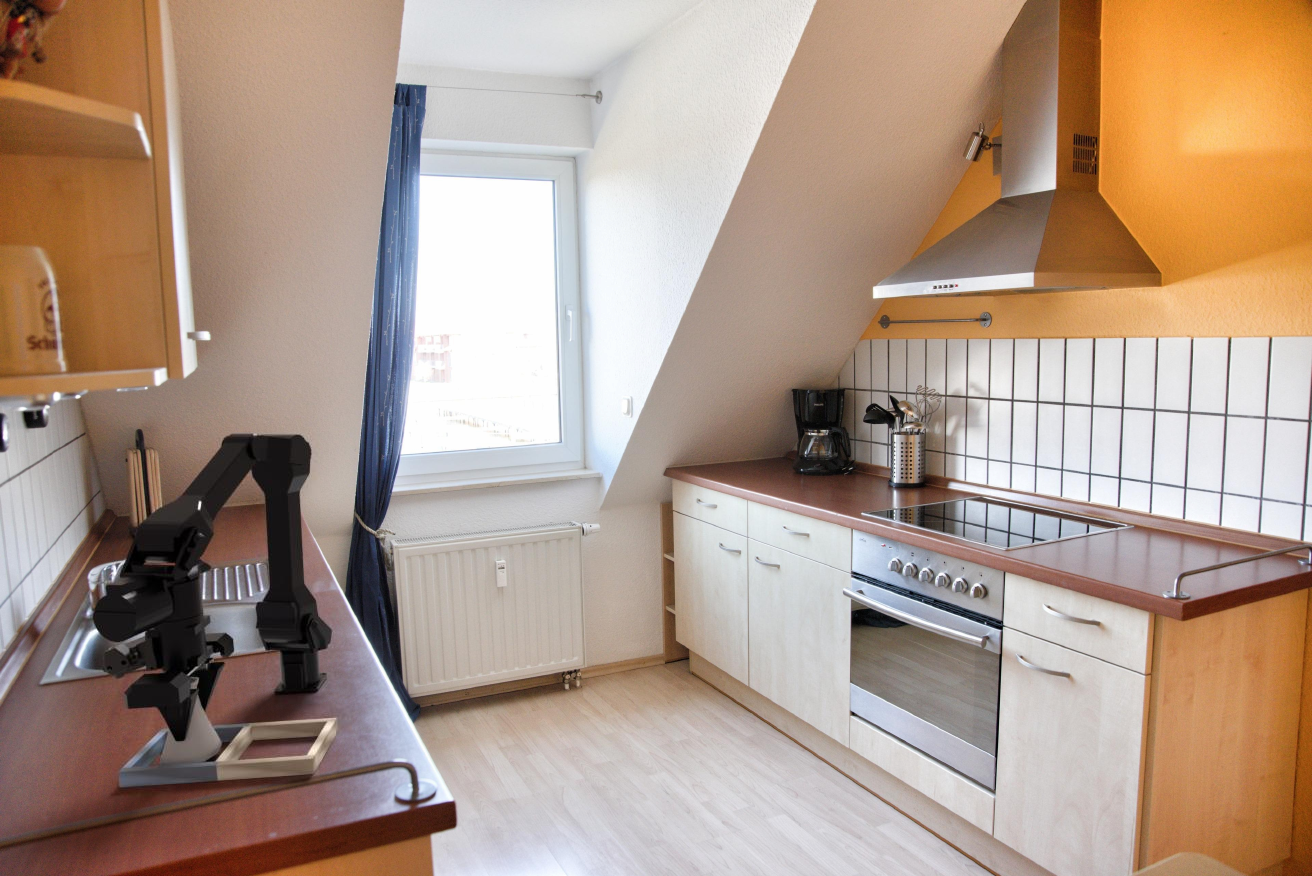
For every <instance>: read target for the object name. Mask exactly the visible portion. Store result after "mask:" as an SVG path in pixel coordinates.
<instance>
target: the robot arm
mask: <svg viewBox="0 0 1312 876" xmlns="http://www.w3.org/2000/svg"><path fill="white" fill-rule="evenodd" d="M311 459H312V446H311V445H310V442H309V441H307V440H306V438H305V437H304V436H303V435H301V434H297V433H295V434H294V433H293V434H292V433H291V434H287V433H286V434H284V433H283V434H282V433H281V434H280V433H279V434H277V433H275V434H259V433H256V432H255V433H253V432H252V433H247V432H246V433H245V432H244V433H240V432H239V433H237V432H236V433H230V434H228V435H225V436H224V437H223V439H222V442H221V445H220V447H219V449H218V450H217V451H216V452H215V453H214V455H213V456H212V458H210V459H209V461H208V462H207V464H206V465H205V466H204V467H203V468H202V470H201V471H200V472H199V473H198V474H197V476H196V477H195V478H194V479H193V480H192V482H191V483H190V485H188V487H187V488H186V489H185V490H184V492H183V493H182V494H181V495H180V496H179V497H178V498H177V499H175V500H174V501H171V502H169V503H167V504H165V505H163V506H161V507H158V508H157V509H155V510H154V511H153V512H152V513H151V514H150V515H149V516H147V517H146V518H145V519H144V520H143V521H142V522H141V523H140V524H139V525H138V527H137V529H136V531H135V534H134V537H133V538H134V539H133V541H132V543H131V546H130V548H129V550H128V553H127V555H126V558H125V561H124V562H123V566H122V568H121V569H120V570H121V571H120V573H119V578H120V579H124V580H120V581H113V582H110V583H107V584H106V585H105V592H106V593H105V594H106V595H104V596H103V597H100V599H99V600H98V601H97V602H96V604H95V607H94V610H93V612H92V620H93V624H94V627H95V629H96V630H97V632H98V633H99V634H100V635H101V636H102V637H103V638H104V639H106V640H108V641H109V642H113V643H119V644H117V645H116V646H115V647H109V648H107V650H105V651H104V652H103V658H102V663H103V666H102V667H101V668H102V671H103V672H104V673H107V674H108V675H110V676H113V677H114V679H115V680H119V679H121V678H124V677H125V675H127V674H129V673H132V672H135V671H136V670H139V669H142V668H144V667H145V670H146V671H147V672H149V671H150V673H144V674H143V675H141V676H140V677H139V678H138V679H137V680H135V681H133V683H131V684H130V685H129V687H128V688H127V689H126V690H125V691H124V692H123V695H124V697H123V698H124V707H125V708H126V709H127V710H133V709H147V708H149V709H150V708H151V709H152V708H156V709H157V710H158V711H159V713H160V714H161V716H162V719H164V722H165V723H166V725H167V727H168V729H170V731H171V733H172V735H173V737H174V739H175V741H177V742H179V741H184V740H185V739H186V736H187V733H188V730H189V726H190V722H191V718H192V714H193V710H194V706H195V703H196V699H197V695H198V696H199V700H200V703H201V706H202V708H203V710H204V712H205V713H206V712H207V710H208V706H209V704H210V701H211V700H212V696H213V694H214V691H215V688H216V685H217V684H218V681H219V678H220V676H221V673H222V671H223V669H224V667H225V665H226V662H225V661H215V660H214V659H215V658H214V657H211V656H212V655H213V654H218V653H220V654H219V655H220V657H221V658H222V659H228V658H229V657H230V656H231V655H232V654H233V653H234V652H235V644H234V638H233V637H232V636H231V635H229V634H228V633H227V632H212V633H206V627H207V626H208V625H209V624H210V623H212V622H211V615H210V614H209V615H208V614H207V615H205V614H204V613H205V612H204V605H203V604H204V603H203V594H202V582H201V574H204V573H207V572H209V571H211V569H212V566H211V564H209V563H208V562H205V561H203V560H202V559H201V558H202V557H203V555H204V554H205V551H206V550H207V548H208V547H209V544H210V542H211V540H212V539H213V537H214V535H215V530H214V520H215V518H216V517H217V515H218V514H219V512H220V511H221V510H222V509H223V508H224V506H225V505H226V503H227V502H228V501H229V499H230V498H231V497H232V495H233V494H234V492H235V491H236V490H237V489H238V487H239V486H240V485H241V484H242V482H243V480H244V479H245V478H246V477H247V475H248V474H249V473H250V472H251V473H250V474H251V477H252V478H253V480H254V481H255V483H256V485H257V486H258V487H259V488H260V490H261V492H263V495H264V497H263V498H264V509H265V510H264V512H265V527H266V528H265V529H266V546H267V547H266V549H267V567H268V569H267V570H268V586H269V587H268V589H267V592H266V593H265V595H264V597H263V598H262V600H261V601H257V602H256V604H255V613H256V624H255V629H257V630H258V635H259V637H260V639H261V641H262V642H261V643H262V644H263V646H264V647H263V648H264V649H265V651H266V652H267V651H268V652H270V651H274V652H275V651H276V652H278V657H279V658H278V659H279V670H280V682H279V683H277V685H276V687H275V688H274V689H273V693H274V694H288V693H289V694H290V693H293V694H294V693H306V692H308V693H309V692H316V691H319V689H320V687H321V686H322V684H323V683H324V681H325V680H326V678H327V677H328V673H327V672H321V670H320V669H321V668H320V667H321V665H320V655H319V654H320V653H319V652H320V651H323V650H326V649H328V648H329V645H330V644H331V641H332V634H333V629H332V628H331V627H330V626H329V625H328V624H327V623H326V621H324V620H323V619H322V618H321V617H320V616H319V611H318V610H319V609H318V605H317V604H318V603H317V600H316V598H315V597H314V595H313V594H312V592H311V591H310V589H309V588H308V587H307V585H306V584H305V583H306V582H305V571H304V553H303V552H304V550H303V534H302V533H303V531H302V512H301V509H302V508H301V489H302V488H303V487H304V485H305V483H306V481H307V479H308V478H309V476H310V473H311ZM146 563H148V564H146ZM149 563H151V564H149ZM152 563H153V564H152ZM157 563H158V564H157ZM172 564H173V565H172ZM143 633H144V635H143V636H141V637H138V638H136V639H133V640H132V641H129V642H126V643H124V644H123V643H122V642H125V641H128V640H129V639H132V638H134V637H136V636H139V635H142V634H143ZM160 669H161V672H156V673H155V672H153V673H151V671H158V670H160ZM190 677H197V678H199V681H198V684H197V689H191V681H190ZM206 714H207V713H206Z"/></svg>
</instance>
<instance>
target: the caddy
mask: <svg viewBox="0 0 1312 876" xmlns="http://www.w3.org/2000/svg"><path fill="white" fill-rule="evenodd" d="M212 726H213V728H214V730H215V731H216V733H217V735H218V736H219V738H220V740H221V742H222V743H229V744H228V745H227V747H226V748H225V750H224V751H223V752H222V753H221V754H220V755H219V757H218V758H217V759H216V760H215V761H204V762H203V763H189V764H174V765H161V764H159V765H151V764H152V763H153V762H154V761H155V760H156V759H157V758H159V756H160V755H162V752H163V748H164V745H165V742H166V738H167V735H168V731H169V728H161V729H160V730H159V732H157V734H155V736H153V738H151V739H150V740H149V741H148V742H147V743H146V744H145V745H144V746H143V747H142V748H141V749H140V750H139V751H138V752H136V754H135V755H134V756H133V757H131V758H130V760H129V761H127V763H125V765H124V766H123V767H121V769H119V770H118V772H117V775H118V785H119V788H131V787H143V786H144V787H145V786H147V787H148V786H158V785H159V786H160V785H161V786H162V785H173V784H174V785H175V784H187V783H188V784H191V783H204V782H216V781H229V780H230V781H231V780H246V779H261V778H275V777H288V776H304V775H314V774H315V773H316V770H317V769H318V768H319V765H320V764H321V762H322V760H323V759H324V756H325V755H326V754H327V751H328V750H329V748H330V747H331V745H332V743H333V741H334V740H335V738H336V736H337V734H338V732H339V729H338V728H339V726H338V717H328V718H325V717H324V718H312V719H296V720H280V721H265V722H263V721H262V722H249V723H247V722H246V723H234V724H219V725H212ZM306 737H307V738H308V737H317V738H316V740H314V743H313V745H312V746H311V747H310V749H309V750H308V752H307V754H306V755H296V756H295V755H294V756H280V757H278V756H277V757H266V758H265V757H264V758H251V759H249V758H248V759H240V758H241V756H242V755H243V753H244V752H245V751H246V750H247V748H249V746H250V745H251V743H252V742H253V741H259V740H260V741H263V740H275V739H276V740H278V739H291V738H294V739H295V738H306Z"/></svg>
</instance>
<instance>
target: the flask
mask: <svg viewBox="0 0 1312 876" xmlns="http://www.w3.org/2000/svg"><path fill="white" fill-rule="evenodd" d="M190 681H191V689H197V684H198V681H199V678H197V677H190ZM213 726H214V725H213V724H212V722H211V721H210V720H209V718H208V716H207V713H205V712H204V710H203V708H202V706H201V703H200V700H199V696H198V695H197V699H196V703H195V706H194V710H193V714H192V718H191V722H190V726H189V730H188V733H187V736H186V739H185V740H184V741H179V742H177V741H175V739H174V737H173V735H172V733H171V731H170V729H169V728H168V729H169V731H168V735H167V738H166V742H165V745H164V748H163V751H162V753H161V754H160V755H161V756H160V759H159V763H158V764H159V765H174V764H189V763H204V762H207V760H209V759H210V758H212V757H215V756H217V754H220V752H221V748H222V745H223V742H221V740H220V738H219V736H218V735H217V733H216V731H215V730H214V728H213Z"/></svg>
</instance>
